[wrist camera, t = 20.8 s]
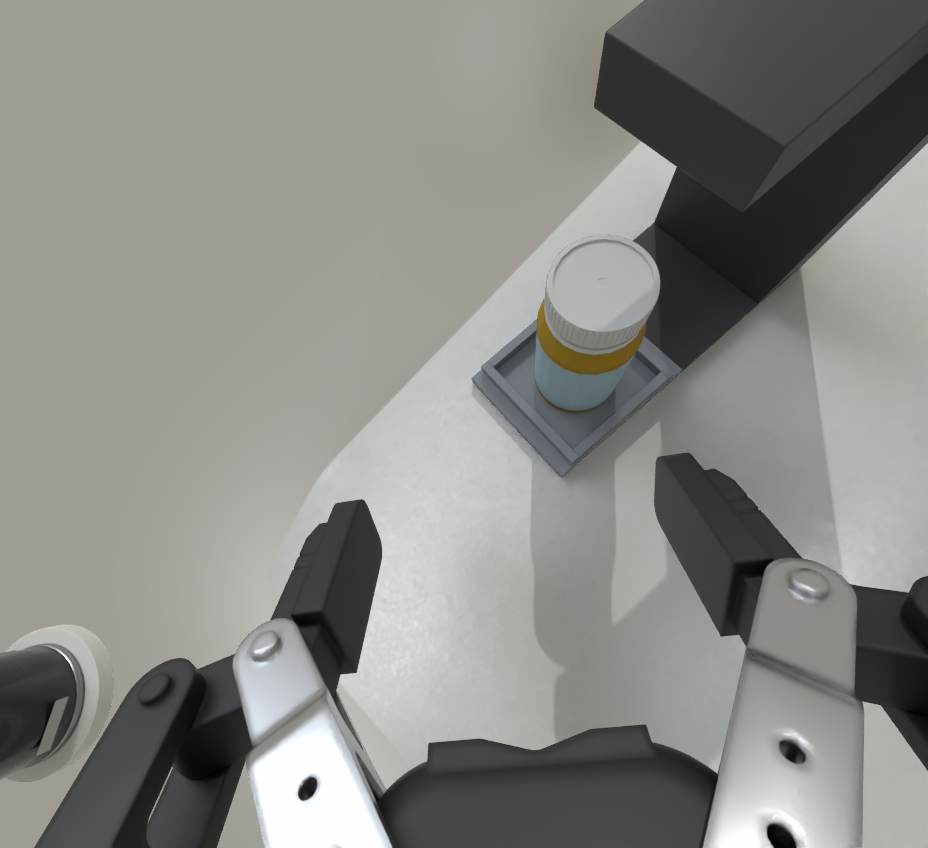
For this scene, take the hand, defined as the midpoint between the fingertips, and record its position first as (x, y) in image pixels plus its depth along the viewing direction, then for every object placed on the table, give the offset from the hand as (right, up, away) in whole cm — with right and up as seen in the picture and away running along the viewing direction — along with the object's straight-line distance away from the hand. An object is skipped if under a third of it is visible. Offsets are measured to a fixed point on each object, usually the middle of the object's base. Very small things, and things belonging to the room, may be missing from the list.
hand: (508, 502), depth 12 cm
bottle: (+9, +6, +26) cm, 29 cm away
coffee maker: (+14, +11, +28) cm, 33 cm away
